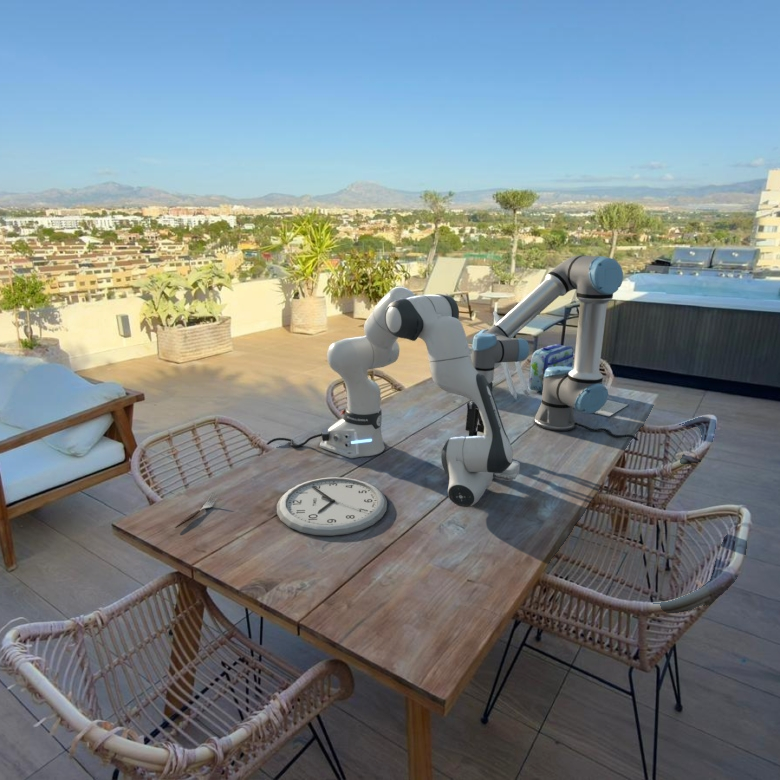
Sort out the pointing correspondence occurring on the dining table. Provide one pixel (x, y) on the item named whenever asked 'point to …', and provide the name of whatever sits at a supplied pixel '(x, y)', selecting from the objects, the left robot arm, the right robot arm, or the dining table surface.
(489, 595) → the dining table surface
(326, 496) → the wall clock
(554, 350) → the lunch box
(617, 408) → the invitation card
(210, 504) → the fork
